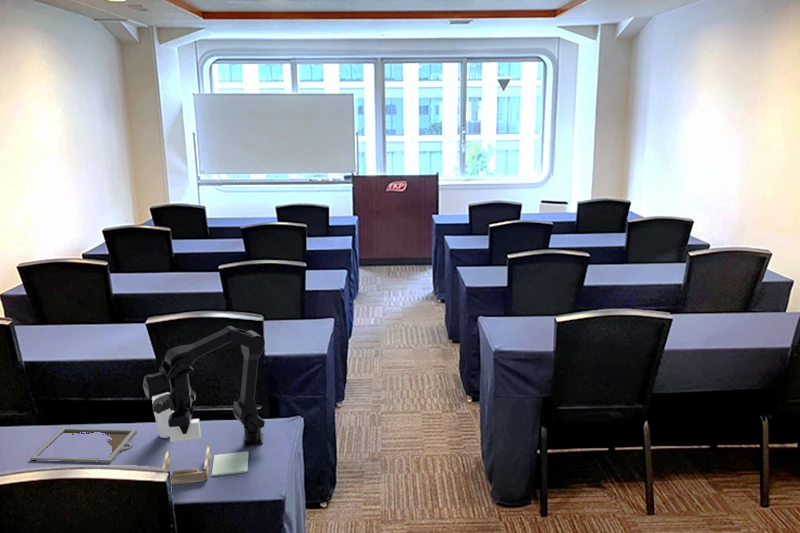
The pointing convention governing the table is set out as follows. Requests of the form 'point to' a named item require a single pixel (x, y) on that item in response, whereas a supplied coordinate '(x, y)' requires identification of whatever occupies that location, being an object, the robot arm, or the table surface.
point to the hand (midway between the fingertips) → (185, 431)
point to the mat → (230, 463)
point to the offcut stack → (185, 471)
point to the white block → (191, 434)
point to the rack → (189, 476)
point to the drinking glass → (162, 419)
